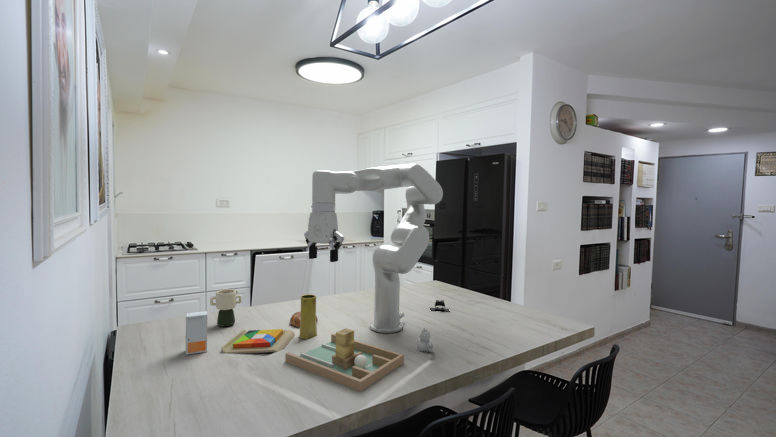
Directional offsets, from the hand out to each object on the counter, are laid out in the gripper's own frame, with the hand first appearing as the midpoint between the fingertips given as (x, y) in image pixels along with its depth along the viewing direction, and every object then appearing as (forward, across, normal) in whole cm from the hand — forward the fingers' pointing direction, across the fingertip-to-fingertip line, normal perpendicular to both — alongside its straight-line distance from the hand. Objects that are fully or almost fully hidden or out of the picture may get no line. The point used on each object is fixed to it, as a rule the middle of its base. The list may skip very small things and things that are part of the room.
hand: (323, 260), depth 121 cm
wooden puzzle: (+29, -17, -12) cm, 36 cm away
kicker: (+27, +18, -8) cm, 33 cm away
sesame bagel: (+29, -21, +11) cm, 37 cm away
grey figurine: (+29, +31, +15) cm, 45 cm away
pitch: (+28, +17, -8) cm, 34 cm away
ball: (+24, +24, -8) cm, 35 cm away
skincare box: (+28, -27, -28) cm, 48 cm away
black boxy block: (+29, +14, +60) cm, 68 cm away
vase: (+28, -9, +2) cm, 30 cm away
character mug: (+28, -42, -9) cm, 52 cm away
